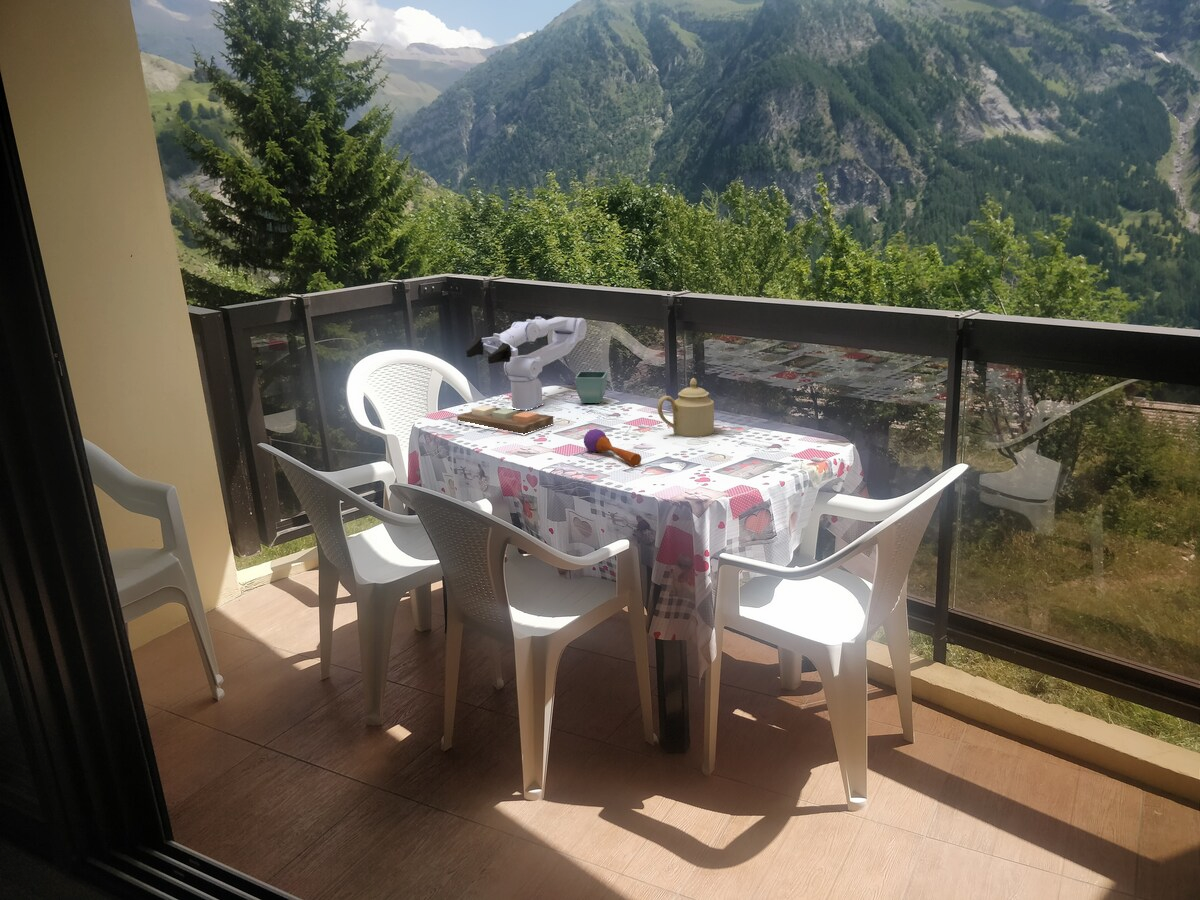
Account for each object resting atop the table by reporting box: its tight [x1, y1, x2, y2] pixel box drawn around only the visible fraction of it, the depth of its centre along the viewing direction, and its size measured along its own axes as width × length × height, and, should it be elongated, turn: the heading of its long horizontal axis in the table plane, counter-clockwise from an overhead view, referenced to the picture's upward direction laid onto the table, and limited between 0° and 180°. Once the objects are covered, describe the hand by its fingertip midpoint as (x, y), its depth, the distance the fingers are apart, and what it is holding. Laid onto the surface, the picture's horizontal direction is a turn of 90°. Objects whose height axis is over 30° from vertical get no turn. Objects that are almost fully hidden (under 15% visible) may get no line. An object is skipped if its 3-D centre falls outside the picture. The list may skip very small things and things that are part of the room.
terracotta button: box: [513, 411, 539, 423], centre depth 268 cm, size 5×5×2 cm
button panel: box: [456, 407, 554, 434], centre depth 273 cm, size 13×25×2 cm, turn 54°
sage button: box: [492, 407, 518, 420], centre depth 273 cm, size 5×5×2 cm
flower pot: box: [574, 370, 608, 404], centre depth 294 cm, size 9×9×9 cm
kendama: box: [583, 428, 642, 467], centre depth 239 cm, size 6×6×20 cm
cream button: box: [470, 404, 497, 416], centre depth 277 cm, size 5×5×2 cm
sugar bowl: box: [656, 377, 715, 438], centre depth 256 cm, size 15×11×15 cm
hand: (478, 356), depth 270 cm, fingers open, 7 cm apart
